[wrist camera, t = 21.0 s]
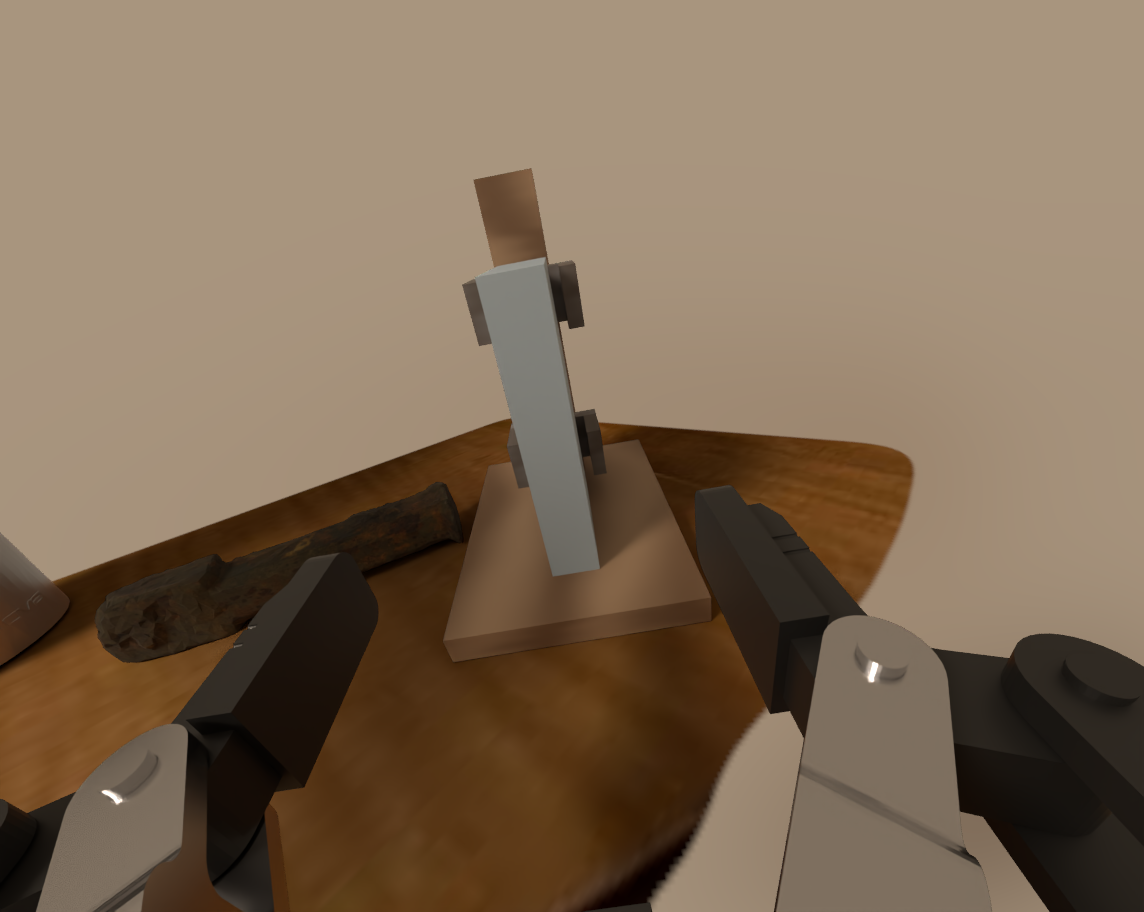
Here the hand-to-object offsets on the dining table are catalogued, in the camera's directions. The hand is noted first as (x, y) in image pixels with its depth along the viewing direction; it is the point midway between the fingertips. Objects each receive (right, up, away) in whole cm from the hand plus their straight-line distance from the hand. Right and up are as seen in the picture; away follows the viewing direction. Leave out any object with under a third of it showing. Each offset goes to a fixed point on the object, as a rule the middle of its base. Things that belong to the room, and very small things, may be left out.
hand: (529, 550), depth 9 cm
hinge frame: (+1, -3, +16) cm, 16 cm away
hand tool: (-14, -7, +15) cm, 22 cm away
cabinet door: (+1, -2, +14) cm, 14 cm away
